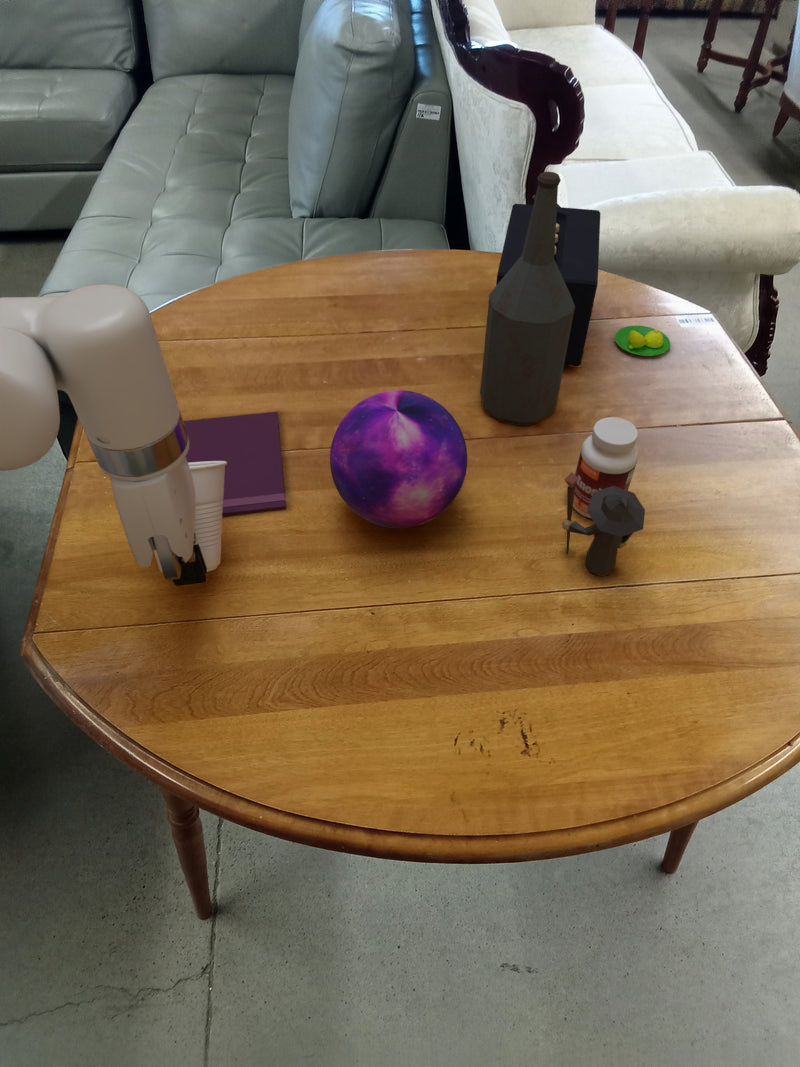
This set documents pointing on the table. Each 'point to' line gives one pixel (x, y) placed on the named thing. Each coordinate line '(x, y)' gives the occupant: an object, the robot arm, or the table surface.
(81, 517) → the table surface
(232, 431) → the book
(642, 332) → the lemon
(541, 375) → the bottle
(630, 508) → the wizard figurine
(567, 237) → the speaker
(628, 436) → the pill bottle
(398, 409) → the decorative orb
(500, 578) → the table surface
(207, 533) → the cup
